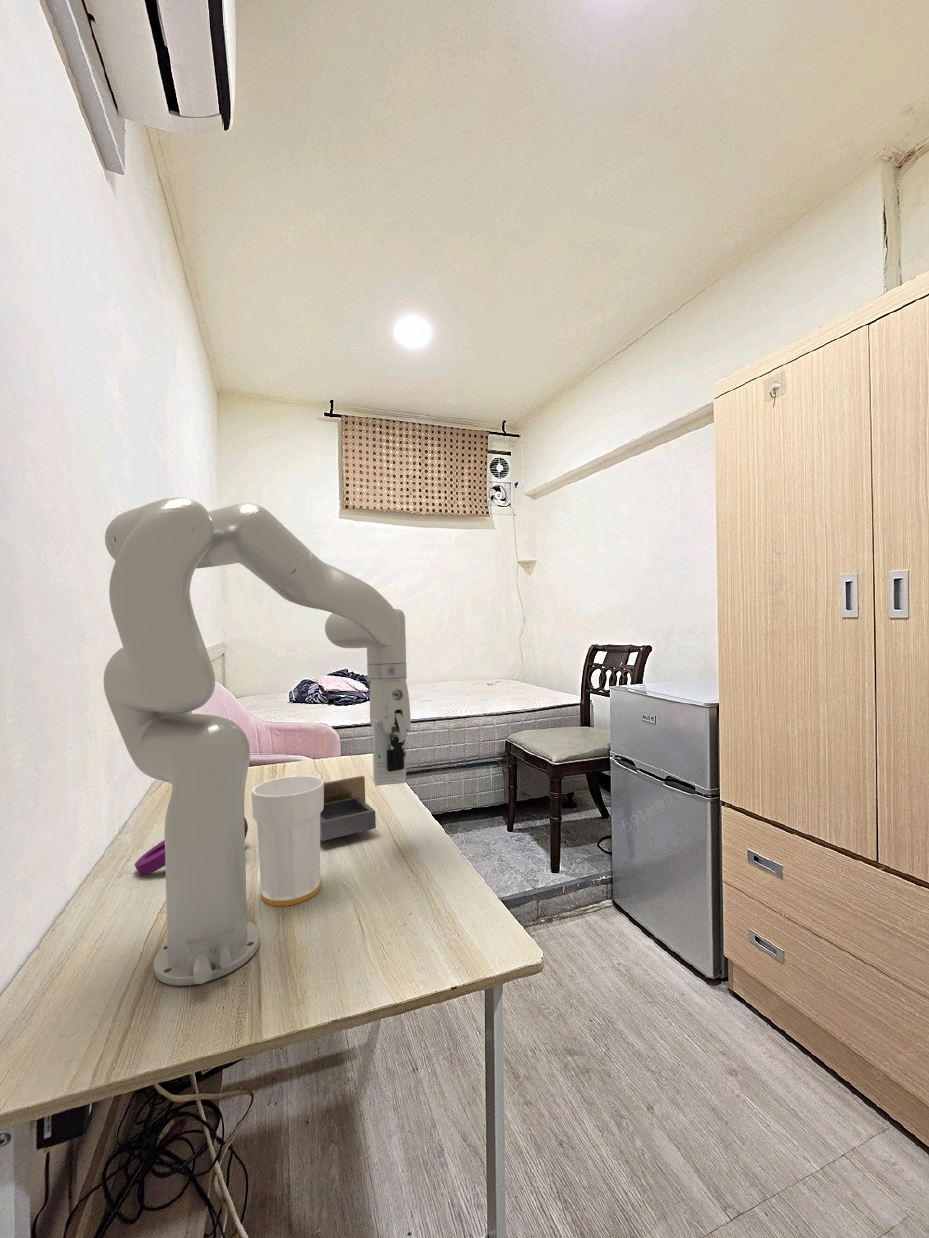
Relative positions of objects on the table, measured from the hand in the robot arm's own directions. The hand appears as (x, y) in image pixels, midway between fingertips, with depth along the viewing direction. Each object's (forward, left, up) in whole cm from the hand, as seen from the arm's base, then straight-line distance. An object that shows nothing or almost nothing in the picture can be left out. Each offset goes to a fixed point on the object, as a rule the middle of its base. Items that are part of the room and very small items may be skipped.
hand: (389, 765), depth 99 cm
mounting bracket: (+17, +33, -17) cm, 41 cm away
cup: (-5, +20, -16) cm, 26 cm away
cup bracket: (+15, +6, -16) cm, 23 cm away
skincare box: (0, 0, -3) cm, 3 cm away
